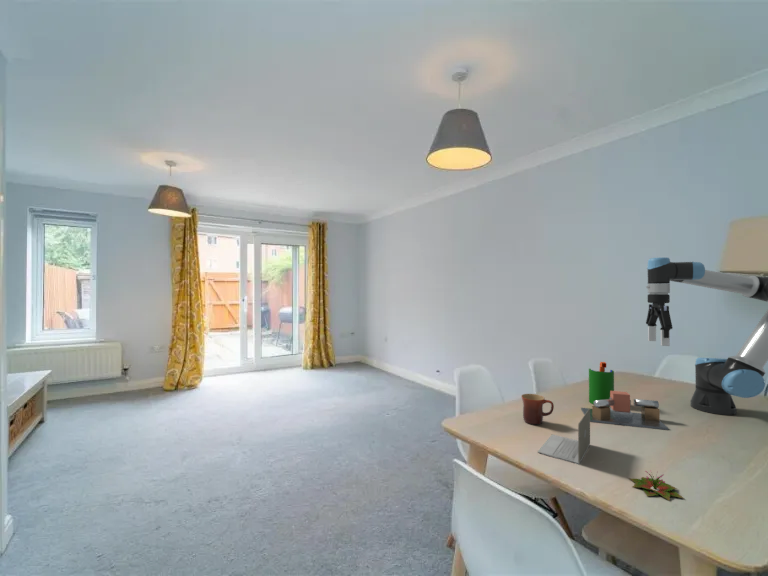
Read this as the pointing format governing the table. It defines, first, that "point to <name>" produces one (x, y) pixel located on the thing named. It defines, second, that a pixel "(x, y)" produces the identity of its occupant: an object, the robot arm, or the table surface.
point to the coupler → (620, 401)
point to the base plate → (634, 416)
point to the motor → (600, 383)
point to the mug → (534, 408)
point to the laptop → (569, 443)
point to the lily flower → (655, 486)
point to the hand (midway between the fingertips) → (658, 343)
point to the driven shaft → (602, 409)
